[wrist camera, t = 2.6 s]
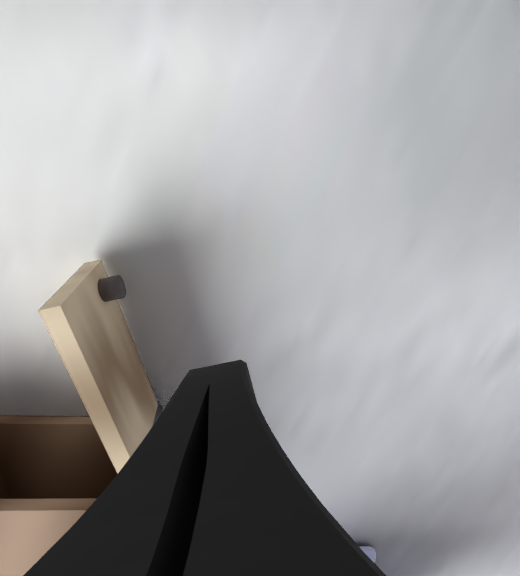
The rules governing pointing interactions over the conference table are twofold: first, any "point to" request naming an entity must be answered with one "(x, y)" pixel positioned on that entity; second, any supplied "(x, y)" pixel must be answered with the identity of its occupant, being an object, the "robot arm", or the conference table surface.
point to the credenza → (46, 483)
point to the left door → (102, 358)
